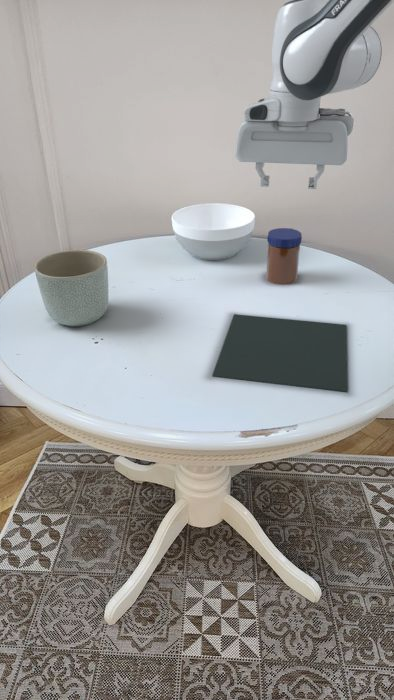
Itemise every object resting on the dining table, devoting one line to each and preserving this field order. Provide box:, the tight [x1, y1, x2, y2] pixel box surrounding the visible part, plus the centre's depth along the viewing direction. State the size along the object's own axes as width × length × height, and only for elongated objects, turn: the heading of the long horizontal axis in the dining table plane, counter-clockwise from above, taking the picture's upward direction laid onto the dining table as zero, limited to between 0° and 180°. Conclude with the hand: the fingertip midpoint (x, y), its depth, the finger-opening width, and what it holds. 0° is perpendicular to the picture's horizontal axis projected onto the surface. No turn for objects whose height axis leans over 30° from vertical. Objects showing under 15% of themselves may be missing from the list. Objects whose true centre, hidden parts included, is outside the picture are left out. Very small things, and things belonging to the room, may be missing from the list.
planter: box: [34, 249, 110, 328], centre depth 96 cm, size 12×12×11 cm
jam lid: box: [266, 227, 303, 248], centre depth 106 cm, size 7×7×2 cm
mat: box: [212, 313, 348, 393], centre depth 88 cm, size 20×20×1 cm
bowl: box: [171, 202, 256, 261], centre depth 122 cm, size 19×19×9 cm
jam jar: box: [265, 242, 301, 286], centre depth 109 cm, size 6×6×10 cm
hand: (288, 187), depth 101 cm, fingers open, 8 cm apart
